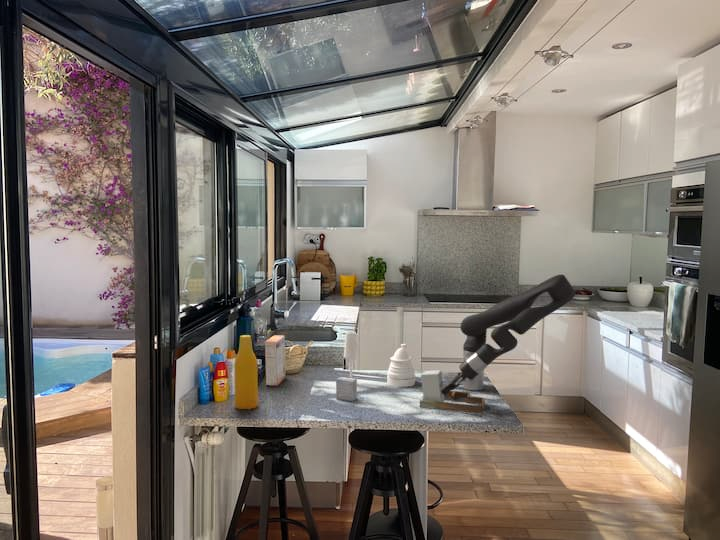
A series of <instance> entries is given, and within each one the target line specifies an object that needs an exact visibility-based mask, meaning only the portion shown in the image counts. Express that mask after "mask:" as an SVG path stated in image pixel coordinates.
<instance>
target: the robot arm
mask: <svg viewBox="0 0 720 540" xmlns="http://www.w3.org/2000/svg"><path fill="white" fill-rule="evenodd" d="M545 293H548V296H549V297H550V298H551V300H552V301H551V302H550V303H548V304H546V305H543V306H533V305H534V303H535V301H536V300H537V299H538V297H539V296H541V295H543V294H545ZM574 297H576V291H575V289H574V287H573V286H572V284H571V283H570V281H569V280H568V278H567V276H565V275H564V274H556V275H554V276H551V277H550V278H548V279H546V280H544V281H542V282H540V283H539V284H537V285H534V287H532V288H528V289H527V290H525V291H522V292H520V293H518V294H515V295H513V296H510V297H508V298H506V299H503V300H502V301H500V302H498V303H497V304H494V305H493V306H491V307H490V308H488V309H486V310H484V311H481V312H479V313H476V314H471V315H468V316H466V317H464V318H463V320H462V321H461V324H460V331H461V332H462V334H464V336H466V339H465V341H464V343H463V346H462V347H463V348H462V349H463V351H462V352H463V354H462V355H463V358H462V359H463V360H462V363H460V365H458V366H459V370H460V371H458V372H457V373H456V374H455V375H454V376H453V377H452V378H451V380H449V382H448V383H447V385H446V386H445V387H443V390H442V391H441V392H442V393H443V394H444V395H446V394H447V393H448V392H449V391H455V389H457V388H458V387H459V386H461V384H462V388H463V389H465V390H468V391H469V390H470V391H481V390H483V389H484V384H485V383H484V382H485V381H484V379H485V377H484V375H485V372H484V371H485V369H486V368H487V367H488V366H489V365H491V363H493V362H494V361H495V360H496V359H498V357H500V356H502V355H504V354H506V353H509V352H511V351H513V350H515V348H516V347H517V346H518V342H519V341H518V339H517V338H516V337H515V335H513V333H512V332H511V331H513V332H514V333H516V334H517V335H520V336H521V335H524V334H526V333H527V332H528V331H529V330H530V329H531V328H532V327H533V326H535V325H536V324H537V323H538V322H540V321H542V320H543V319H544V318H545V317H547V316H549V315H550V314H552V313H554V312H556V311H557V310H559V309H560V308H562V307H563V306H565V305H566V304H568V303H569V302H571V300H573V299H574ZM501 324H502V325H501ZM497 325H498V326H497ZM494 326H497V327H495V328H493V330H492V331H491V333H490V338H491V340H493V342H494V343H496V345H497V346H498V347H499V348H495V347H493V346H492V345H491V344H489V343H487V331H488V329H489V328H491V327H494ZM509 330H511V331H509Z"/></svg>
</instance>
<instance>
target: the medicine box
mask: <svg viewBox="0 0 720 540" xmlns="http://www.w3.org/2000/svg"><path fill="white" fill-rule="evenodd" d="M357 383H358V380H357V378H353V377H352V378H350V377H344V376H342V377H341V376H339V377H338V378H337V379H335V387H336V389H335V391H336V393H335V395H336V396H335V397H336V398H335V399H336V400H341V401H347V402H348V401H349V402H354V401H355V400H357V398H358V385H357Z"/></svg>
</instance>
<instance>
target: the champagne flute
mask: <svg viewBox="0 0 720 540" xmlns="http://www.w3.org/2000/svg"><path fill="white" fill-rule="evenodd" d="M344 339H345V340H344V351H343V358H344V360H345V361H346V362H347V363H348V364H349V378H353V363H355V362H356V361H357V359H358V358H359V351H358V350H359V349H358V341H357V340H358V339H357V332H356V331H347V332H345V338H344ZM358 385H359V382H357V386H358Z"/></svg>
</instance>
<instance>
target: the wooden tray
mask: <svg viewBox="0 0 720 540" xmlns="http://www.w3.org/2000/svg"><path fill="white" fill-rule="evenodd" d="M444 398H445V399H444V401H443V402H435V401H424V397H423V395H422V397H421V398H420V399H419V408H427V407H429V408H430V409H438V408H441V409H440V410H447V411H449V410H451V411H458V412H459V411H460V412H461V411H462V412H470V411H471V412H472V413H480V412H482V414H483V412H484V409H485V405H486V404H485V403H486V401H485V400H486V399H485V397H479V396H471V392H469V391H458V390H457V391H456V390H450V391H449V392H448V393H447V394H446V395H444ZM445 401H450V402H445ZM455 402H463V403H455ZM464 403H465V404H464ZM466 403H467V404H466ZM477 403H478V404H477ZM429 408H428V409H429ZM471 412H470V413H471Z"/></svg>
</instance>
